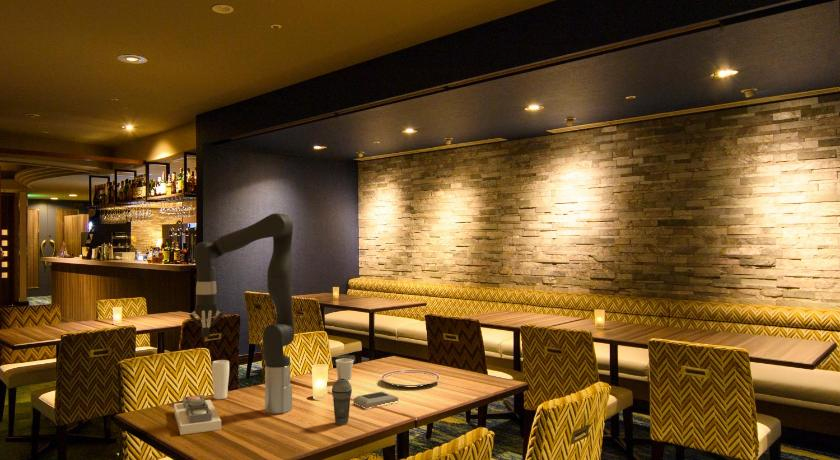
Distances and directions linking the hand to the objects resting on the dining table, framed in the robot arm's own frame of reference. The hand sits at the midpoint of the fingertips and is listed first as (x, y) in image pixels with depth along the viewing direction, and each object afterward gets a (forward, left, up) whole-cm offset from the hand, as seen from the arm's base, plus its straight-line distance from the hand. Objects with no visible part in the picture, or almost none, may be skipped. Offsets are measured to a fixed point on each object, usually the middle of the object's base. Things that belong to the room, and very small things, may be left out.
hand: (205, 337), depth 230 cm
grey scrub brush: (-62, -25, -28) cm, 72 cm away
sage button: (-16, +23, -24) cm, 37 cm away
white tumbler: (+2, -12, -27) cm, 30 cm away
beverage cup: (-60, +2, -27) cm, 66 cm away
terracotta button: (-2, +9, -24) cm, 25 cm away
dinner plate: (-63, -63, -28) cm, 93 cm away
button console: (-9, +16, -27) cm, 33 cm away
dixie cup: (-34, -54, -27) cm, 69 cm away
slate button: (-9, +16, -23) cm, 29 cm away
